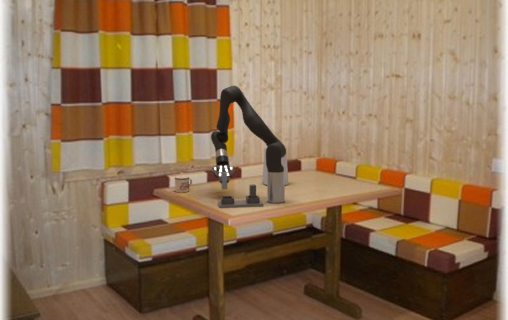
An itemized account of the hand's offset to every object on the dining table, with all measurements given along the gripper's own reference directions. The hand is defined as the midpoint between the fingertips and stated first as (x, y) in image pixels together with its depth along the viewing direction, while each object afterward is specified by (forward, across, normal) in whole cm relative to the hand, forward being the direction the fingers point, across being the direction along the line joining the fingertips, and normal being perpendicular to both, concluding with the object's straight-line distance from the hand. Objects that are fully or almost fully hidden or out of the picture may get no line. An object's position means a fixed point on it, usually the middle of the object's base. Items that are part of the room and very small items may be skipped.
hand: (224, 182), depth 309 cm
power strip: (+18, +7, -4) cm, 20 cm away
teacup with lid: (-13, -22, +27) cm, 37 cm away
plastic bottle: (-21, +38, +36) cm, 56 cm away
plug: (+1, 0, +4) cm, 5 cm away
